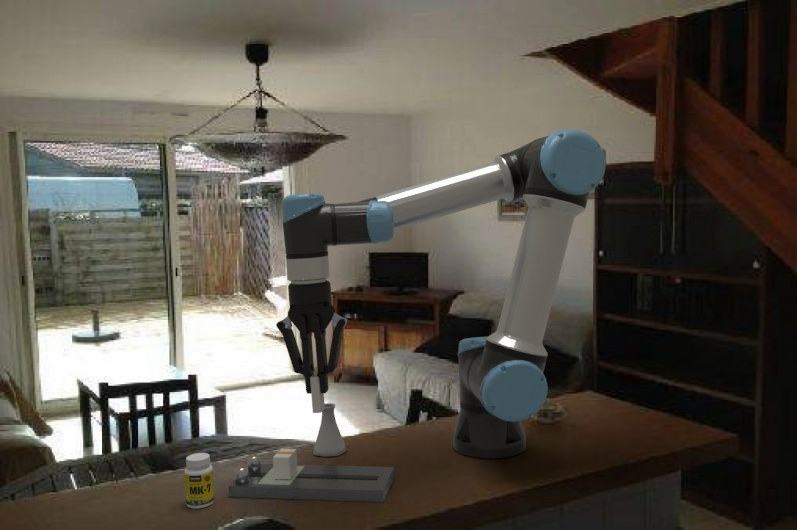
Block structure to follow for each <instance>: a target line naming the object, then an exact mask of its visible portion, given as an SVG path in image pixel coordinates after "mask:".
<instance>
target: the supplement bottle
mask: <svg viewBox="0 0 797 530" xmlns="http://www.w3.org/2000/svg"><path fill="white" fill-rule="evenodd" d="M185 463H186V468H185V469H184V488H185V489H184V490H185V492H184V493H185V505H186V506H187V507H188V508H189V509H190V508H191V509H194V510H195V509H197V510H198V509H203V508H206V507H209V506H211V505H213V503H214V502H215V488H214V486H215V485H214V469H213V466H212V464H211V456H210V454H209V453H206V452H198V453H197V452H196V453H192V454H189V455H188V456H186V458H185Z"/></svg>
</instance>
